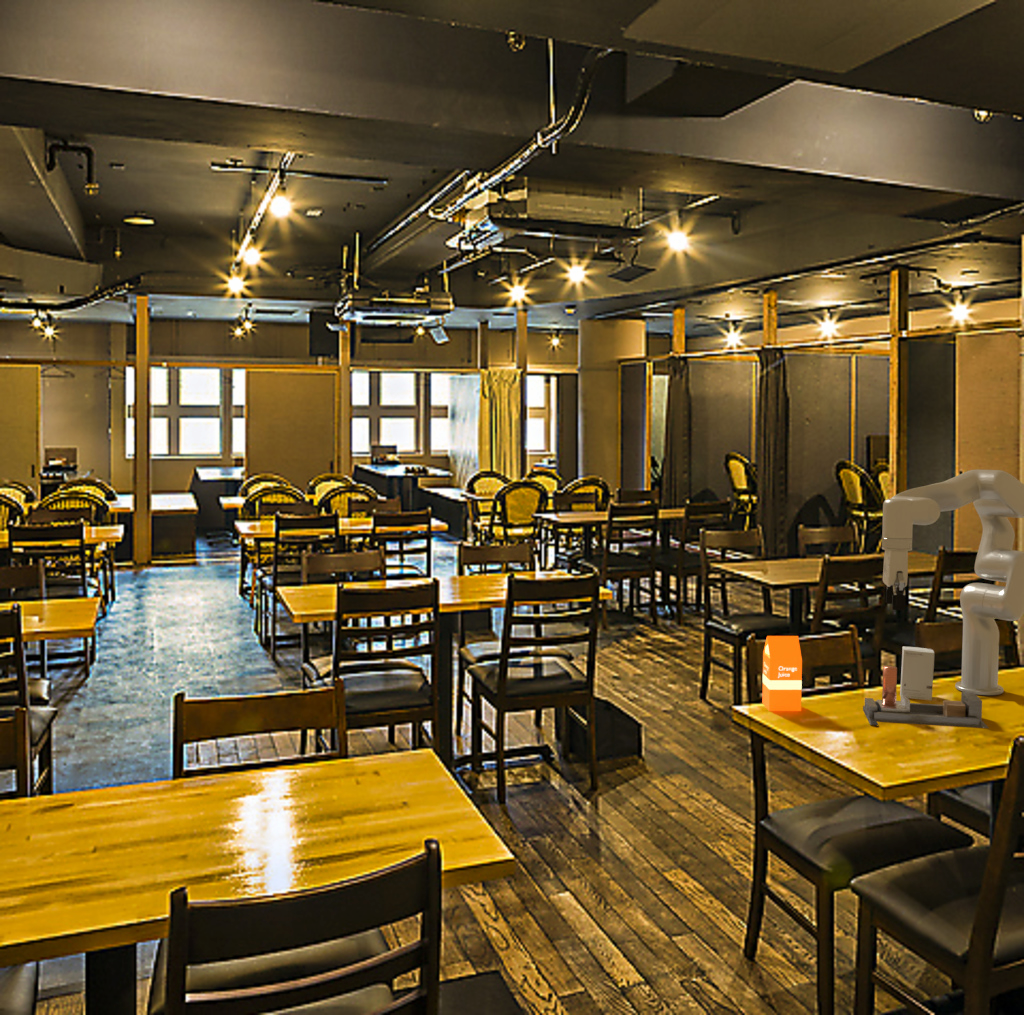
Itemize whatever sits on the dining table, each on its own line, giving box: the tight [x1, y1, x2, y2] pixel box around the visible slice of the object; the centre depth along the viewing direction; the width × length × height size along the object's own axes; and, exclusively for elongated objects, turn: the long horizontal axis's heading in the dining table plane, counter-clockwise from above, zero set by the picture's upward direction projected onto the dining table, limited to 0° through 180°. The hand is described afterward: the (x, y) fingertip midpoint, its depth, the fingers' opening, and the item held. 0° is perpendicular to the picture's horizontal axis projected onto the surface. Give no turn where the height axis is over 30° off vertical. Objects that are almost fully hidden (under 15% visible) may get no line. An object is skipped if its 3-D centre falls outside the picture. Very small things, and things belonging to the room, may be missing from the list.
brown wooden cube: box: [942, 699, 966, 717], centre depth 240 cm, size 4×4×4 cm
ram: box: [876, 665, 911, 714], centre depth 243 cm, size 8×7×12 cm
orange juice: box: [761, 635, 803, 712], centre depth 255 cm, size 8×9×20 cm
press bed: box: [862, 691, 989, 729], centre depth 242 cm, size 14×28×7 cm, turn 77°
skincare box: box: [899, 646, 935, 701], centre depth 261 cm, size 8×6×15 cm
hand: (895, 606), depth 251 cm, fingers open, 9 cm apart
